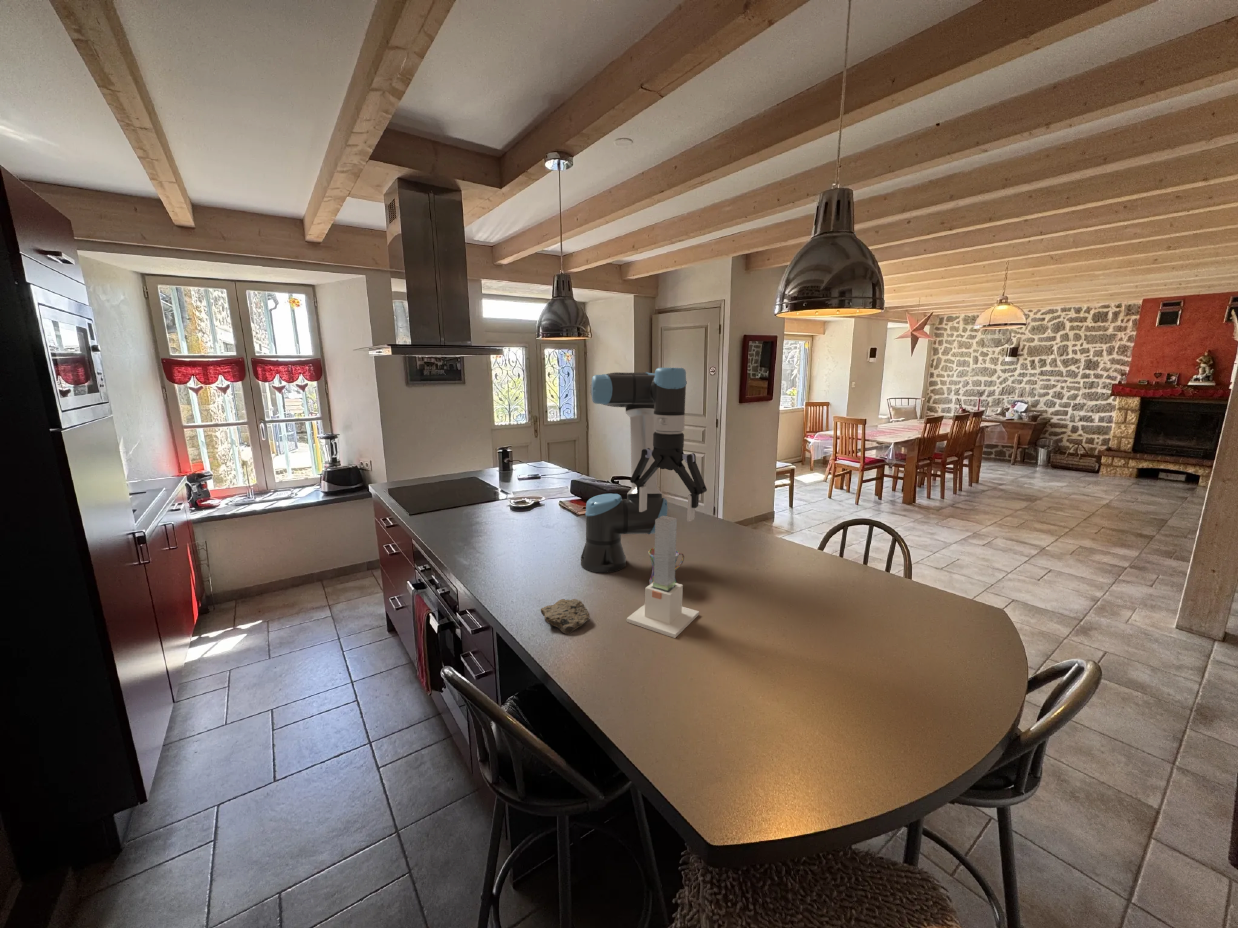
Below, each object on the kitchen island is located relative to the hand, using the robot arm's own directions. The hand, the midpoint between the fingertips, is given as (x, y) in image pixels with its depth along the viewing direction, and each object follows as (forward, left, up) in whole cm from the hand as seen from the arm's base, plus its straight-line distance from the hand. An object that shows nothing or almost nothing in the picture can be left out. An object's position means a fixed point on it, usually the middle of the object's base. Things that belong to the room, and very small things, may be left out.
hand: (666, 515), depth 124 cm
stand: (0, 0, -28) cm, 28 cm away
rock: (+16, -20, -29) cm, 38 cm away
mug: (-19, -9, -28) cm, 35 cm away
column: (0, 0, -21) cm, 21 cm away
